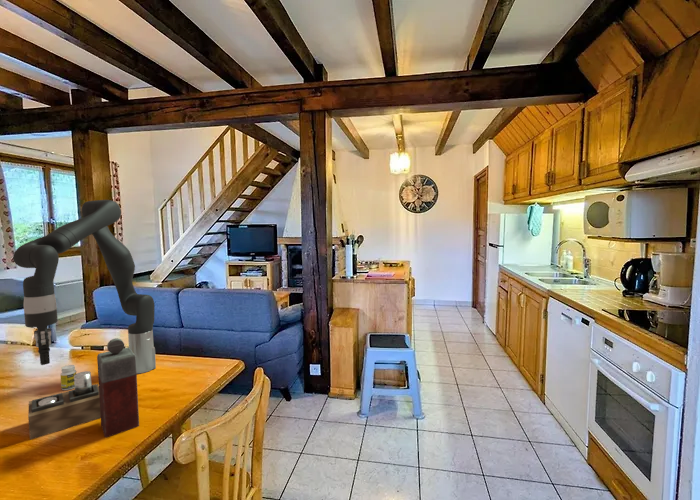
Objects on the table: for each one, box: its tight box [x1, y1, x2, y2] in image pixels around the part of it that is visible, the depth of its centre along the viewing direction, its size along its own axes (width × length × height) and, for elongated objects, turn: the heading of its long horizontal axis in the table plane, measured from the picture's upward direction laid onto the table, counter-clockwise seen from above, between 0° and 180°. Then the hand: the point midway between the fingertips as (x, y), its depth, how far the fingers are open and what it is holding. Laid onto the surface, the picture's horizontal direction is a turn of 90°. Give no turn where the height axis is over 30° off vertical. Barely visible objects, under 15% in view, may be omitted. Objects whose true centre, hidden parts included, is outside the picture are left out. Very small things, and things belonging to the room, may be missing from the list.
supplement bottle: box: [60, 364, 77, 391], centre depth 135 cm, size 5×5×8 cm
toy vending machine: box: [96, 337, 140, 438], centre depth 110 cm, size 9×11×28 cm
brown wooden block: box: [27, 383, 101, 440], centre depth 113 cm, size 18×12×8 cm, turn 132°
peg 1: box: [38, 397, 57, 406], centre depth 110 cm, size 4×4×7 cm
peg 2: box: [74, 370, 92, 397], centre depth 115 cm, size 4×4×7 cm
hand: (45, 363), depth 108 cm, fingers closed
